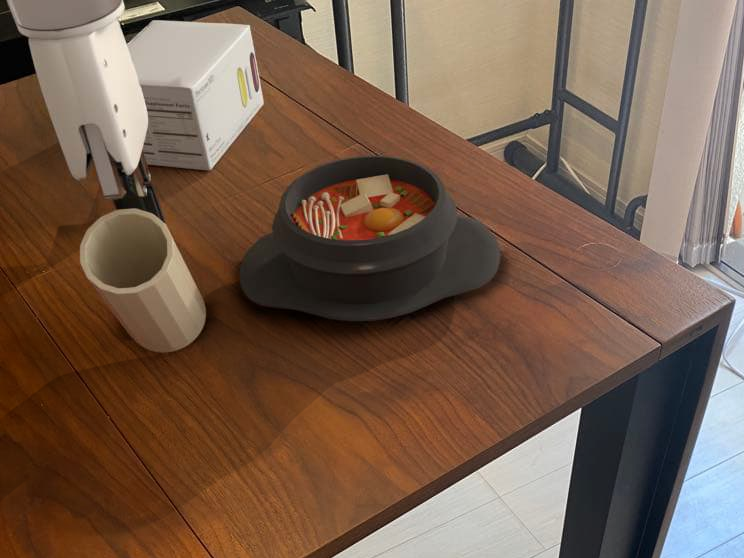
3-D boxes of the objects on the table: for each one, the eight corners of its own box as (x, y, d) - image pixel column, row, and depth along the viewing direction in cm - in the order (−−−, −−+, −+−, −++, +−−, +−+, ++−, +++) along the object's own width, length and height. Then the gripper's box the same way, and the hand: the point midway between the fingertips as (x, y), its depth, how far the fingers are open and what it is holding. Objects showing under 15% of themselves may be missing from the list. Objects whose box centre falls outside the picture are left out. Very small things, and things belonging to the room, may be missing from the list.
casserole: (235, 349, 76) (213, 269, 69) (249, 234, 87) (231, 155, 81) (511, 326, 75) (515, 243, 69) (489, 213, 87) (490, 133, 80)
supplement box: (213, 173, 96) (191, 88, 88) (111, 164, 98) (81, 80, 91) (267, 103, 105) (251, 21, 98) (172, 96, 108) (150, 16, 101)
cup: (126, 355, 76) (79, 296, 66) (125, 281, 78) (79, 212, 67) (207, 349, 76) (174, 289, 66) (205, 275, 78) (172, 205, 67)
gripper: (32, -39, 63) (117, 192, 77) (-17, 45, 53) (90, 290, 68) (132, -50, 62) (198, 184, 77) (100, 32, 53) (182, 280, 68)
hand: (147, 233), depth 72 cm, fingers closed
